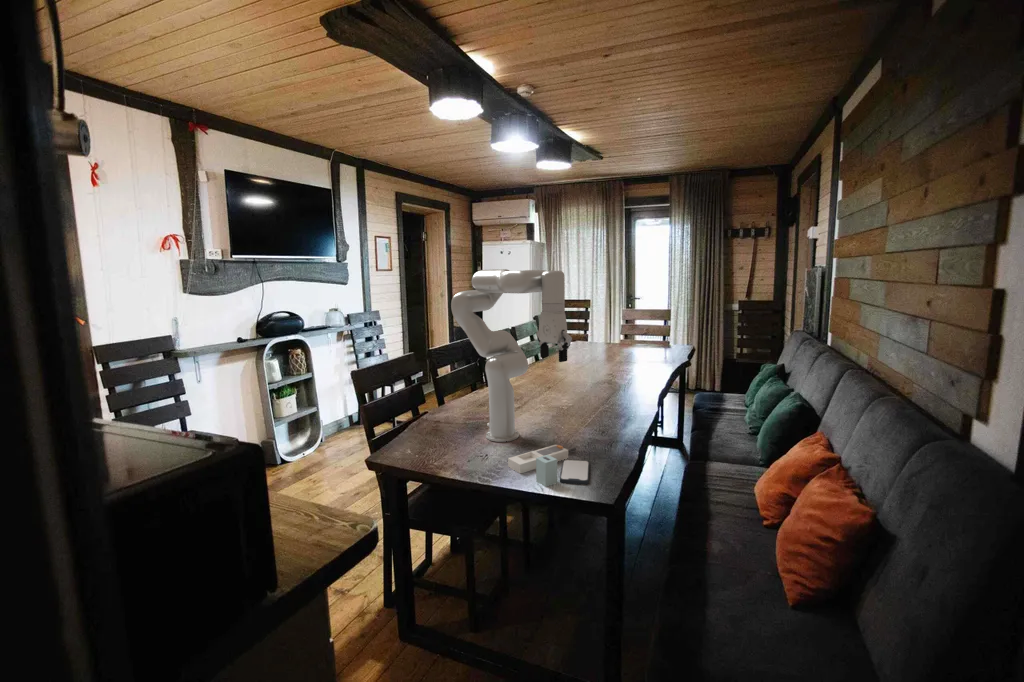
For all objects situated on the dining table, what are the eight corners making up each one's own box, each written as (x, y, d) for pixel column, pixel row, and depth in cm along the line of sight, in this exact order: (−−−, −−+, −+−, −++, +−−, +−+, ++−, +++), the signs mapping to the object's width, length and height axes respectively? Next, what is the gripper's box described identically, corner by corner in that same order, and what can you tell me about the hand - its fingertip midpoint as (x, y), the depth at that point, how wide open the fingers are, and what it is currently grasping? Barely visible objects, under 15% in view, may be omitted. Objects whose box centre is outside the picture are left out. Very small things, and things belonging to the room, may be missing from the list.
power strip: (508, 466, 162) (508, 456, 162) (569, 448, 177) (569, 438, 176) (519, 473, 157) (519, 462, 156) (581, 454, 171) (581, 444, 171)
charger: (536, 481, 151) (536, 457, 150) (548, 477, 154) (547, 454, 152) (545, 487, 147) (545, 462, 146) (557, 482, 150) (557, 459, 149)
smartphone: (562, 463, 165) (559, 484, 150) (562, 459, 165) (559, 479, 150) (589, 465, 164) (588, 486, 148) (589, 460, 164) (588, 481, 148)
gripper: (528, 307, 169) (529, 356, 172) (561, 311, 155) (561, 364, 158) (545, 305, 173) (546, 354, 176) (579, 309, 159) (579, 361, 162)
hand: (553, 359), depth 167 cm, fingers open, 9 cm apart
